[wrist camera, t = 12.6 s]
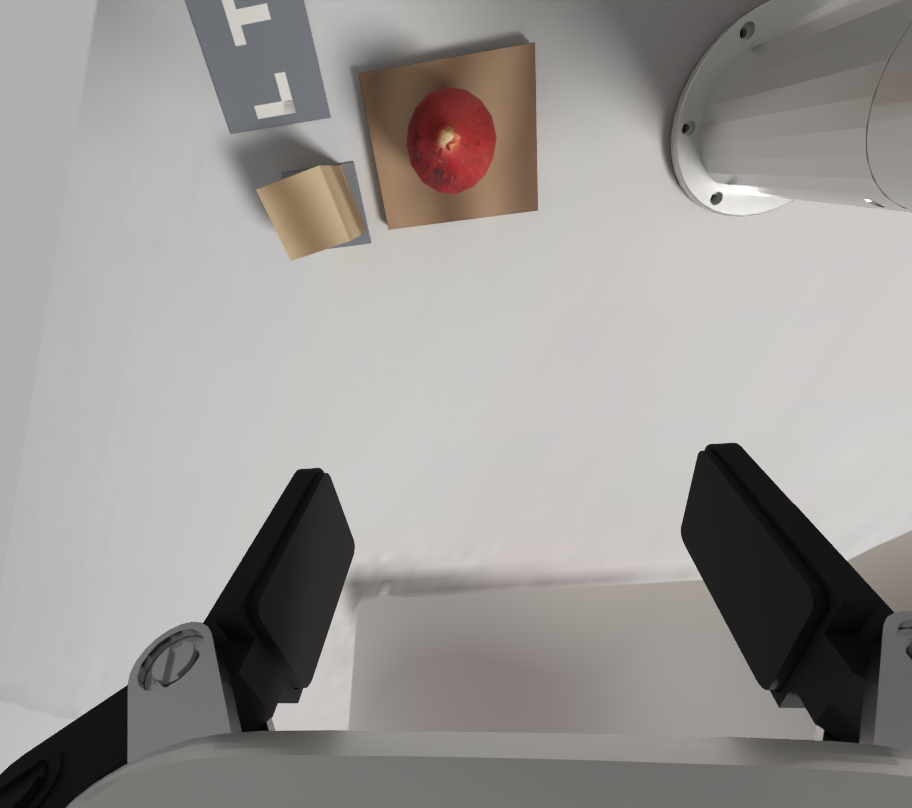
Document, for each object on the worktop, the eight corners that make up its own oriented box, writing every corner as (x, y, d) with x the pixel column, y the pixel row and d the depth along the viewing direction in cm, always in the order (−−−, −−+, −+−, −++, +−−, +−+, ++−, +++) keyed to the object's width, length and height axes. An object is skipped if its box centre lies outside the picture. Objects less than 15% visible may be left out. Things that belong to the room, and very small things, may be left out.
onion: (469, 205, 31) (465, 217, 24) (402, 165, 30) (379, 165, 23) (509, 125, 29) (517, 113, 22) (437, 78, 27) (421, 49, 21)
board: (532, 47, 27) (534, 42, 26) (536, 209, 32) (537, 210, 31) (362, 76, 29) (358, 73, 28) (391, 227, 34) (388, 229, 33)
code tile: (296, -33, 26) (295, -34, 26) (330, 117, 30) (330, 117, 30) (184, -9, 27) (181, -10, 27) (232, 133, 31) (230, 133, 31)
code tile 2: (354, 162, 31) (353, 161, 31) (371, 242, 34) (370, 243, 34) (281, 172, 32) (280, 172, 32) (305, 251, 35) (304, 251, 35)
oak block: (341, 165, 31) (319, 165, 27) (366, 231, 34) (350, 241, 29) (286, 186, 32) (255, 189, 28) (314, 249, 35) (290, 261, 30)
